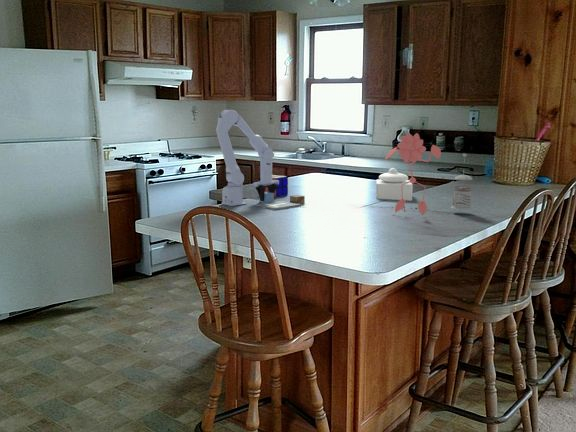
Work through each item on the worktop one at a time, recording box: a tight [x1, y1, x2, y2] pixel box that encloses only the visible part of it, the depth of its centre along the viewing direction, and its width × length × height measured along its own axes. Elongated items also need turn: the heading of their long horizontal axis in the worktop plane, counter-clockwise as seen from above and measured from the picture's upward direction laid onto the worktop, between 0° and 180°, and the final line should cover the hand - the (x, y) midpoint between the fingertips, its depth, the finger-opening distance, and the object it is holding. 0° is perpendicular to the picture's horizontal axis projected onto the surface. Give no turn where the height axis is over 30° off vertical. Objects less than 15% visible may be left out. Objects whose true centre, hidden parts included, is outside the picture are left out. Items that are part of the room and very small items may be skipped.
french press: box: [447, 153, 474, 211], centre depth 265 cm, size 10×12×25 cm
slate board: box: [255, 200, 302, 211], centre depth 271 cm, size 16×14×1 cm
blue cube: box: [258, 192, 275, 204], centre depth 280 cm, size 5×5×5 cm
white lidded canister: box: [375, 167, 414, 202], centre depth 293 cm, size 18×18×16 cm
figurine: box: [384, 132, 442, 219], centre depth 247 cm, size 15×26×35 cm, turn 54°
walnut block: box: [289, 194, 305, 205], centre depth 279 cm, size 5×5×4 cm
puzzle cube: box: [264, 174, 289, 198], centre depth 306 cm, size 10×10×10 cm
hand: (266, 200), depth 281 cm, fingers closed on blue cube, 5 cm apart
